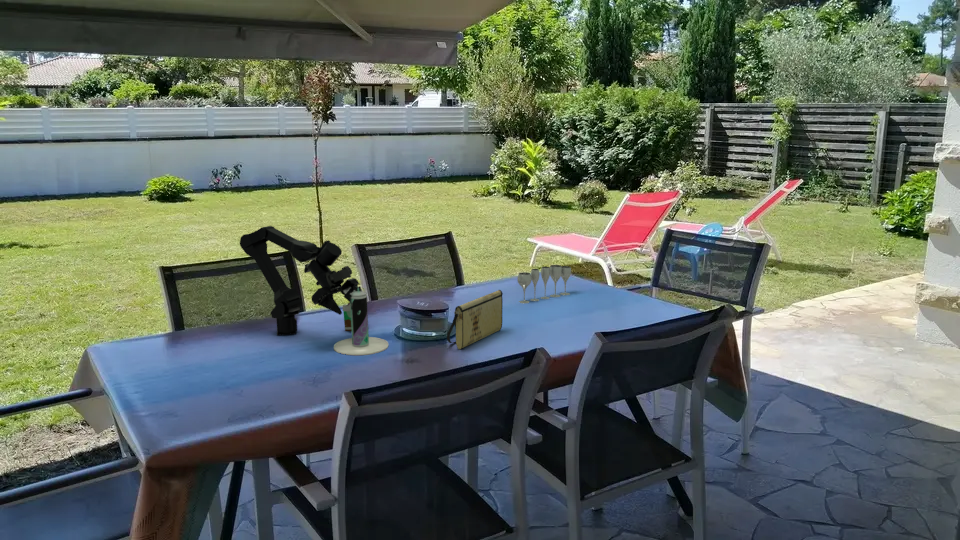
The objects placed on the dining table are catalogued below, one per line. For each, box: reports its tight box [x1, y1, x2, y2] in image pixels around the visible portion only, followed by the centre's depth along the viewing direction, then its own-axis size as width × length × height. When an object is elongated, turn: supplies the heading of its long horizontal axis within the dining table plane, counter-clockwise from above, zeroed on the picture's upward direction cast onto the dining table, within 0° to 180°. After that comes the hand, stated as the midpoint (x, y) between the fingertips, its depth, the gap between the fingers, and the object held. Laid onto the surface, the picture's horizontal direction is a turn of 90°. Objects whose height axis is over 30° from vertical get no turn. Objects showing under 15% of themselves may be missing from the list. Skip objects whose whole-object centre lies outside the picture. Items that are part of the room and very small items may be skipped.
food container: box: [342, 301, 352, 332], centre depth 263 cm, size 12×6×10 cm, turn 168°
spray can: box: [350, 285, 370, 347], centre depth 241 cm, size 6×6×20 cm
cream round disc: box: [333, 336, 389, 356], centre depth 243 cm, size 18×18×1 cm
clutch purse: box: [446, 289, 504, 351], centre depth 250 cm, size 30×7×15 cm, turn 148°
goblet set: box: [517, 264, 572, 304], centre depth 305 cm, size 28×6×13 cm, turn 126°
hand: (350, 310), depth 243 cm, fingers open, 9 cm apart
